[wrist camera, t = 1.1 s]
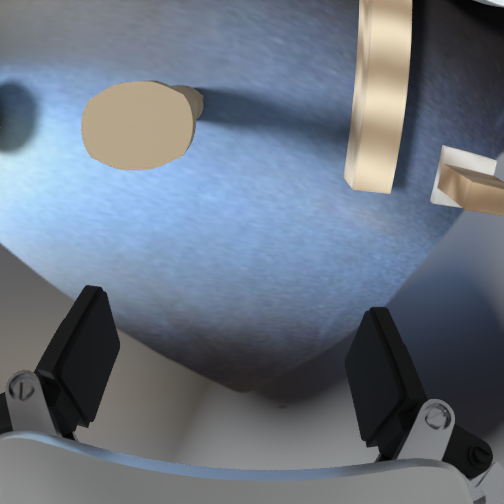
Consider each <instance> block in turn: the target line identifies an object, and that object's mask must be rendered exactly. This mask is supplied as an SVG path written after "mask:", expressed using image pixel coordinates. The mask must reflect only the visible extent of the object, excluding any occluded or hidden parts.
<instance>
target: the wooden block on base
mask: <svg viewBox="0 0 504 504" xmlns="http://www.w3.org/2000/svg"><path fill="white" fill-rule="evenodd" d="M496 164H497V161H496V160H494V159H491V158H488V157H484V156H481V155H478V154H474V153H471V152H467V151H464V150H460V149H457V148H453V147H449V146H445V145H442V150H441V155H440V160H439V165H438V170H437V174H436V179H435V183H434V187H433V191H432V195H431V199H430V201H431V202H432V203H433V204H440V205H447V206H453V207H460V208H463V209H465V210H469V211H476V212H482V213H488V214H494V215H499V216H504V182H503V181H501V180H499V179H498V178H496V177H495V176H494V172H495V168H496Z"/></svg>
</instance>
